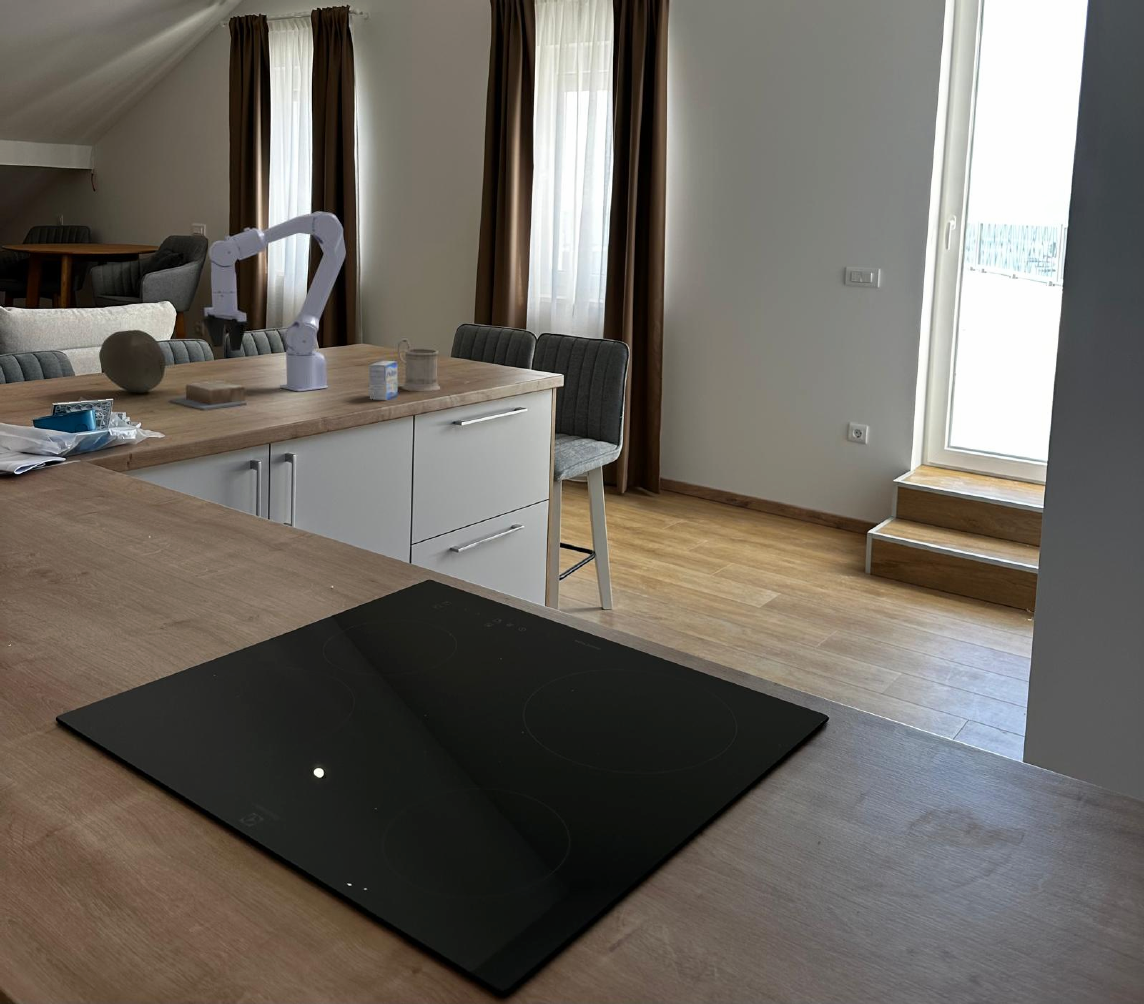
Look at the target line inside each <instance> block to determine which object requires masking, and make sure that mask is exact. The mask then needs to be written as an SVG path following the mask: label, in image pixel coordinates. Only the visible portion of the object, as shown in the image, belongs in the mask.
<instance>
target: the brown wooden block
mask: <svg viewBox="0 0 1144 1004" xmlns="http://www.w3.org/2000/svg"><path fill="white" fill-rule="evenodd" d="M185 397H186V399H189V400H193V401H197V402H200V403H204V404H208V405H216V404H224V403H232V402H239V401H242V402H246V400H245V399H246V397H245V386H243V385H241V384H236V383H232V382H228V381H223V380H221V379H220V380H211V381H203V382H202V381H201V382H195V383H194V382H193V383H186V385H185Z"/></svg>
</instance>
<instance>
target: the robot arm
mask: <svg viewBox="0 0 1144 1004" xmlns="http://www.w3.org/2000/svg"><path fill="white" fill-rule="evenodd" d="M296 234H303V235H310V236H311V235H312V236H313V238H315V240H316V241H317V242H318V244H319V247H320V248H321V250H322V253H323V255H322V258H321V259H320V263H319V265H318V268H317V270H316V272H315V275H314V277H313V279H312V283H311V284H310V287H309V289H308V292H307V294H306V297H305V300H304V302H303V305H302V307H301V309H300V312H299V313H298V314H297V315H296V317H295V319H294V321H293V323H292V324H291V325H290V326H288V328H286V330H285V332H284V340H285V343H286V345H287V346H288V348H287V349H286V351H285V357H286V358H285V359H286V361H285V363H286V384H283V385H282V384H281V385H279V388H281V389H286V390H291V391H295V392H305V391H306V392H307V391H311V390H312V391H313V390H319V389H328V388H329V385H327V363H326V359H325V356H324V355H323V354H322V353H321V352H318V351H316V349H315V348H316V346H317V341H318V340H317V333H318V331H319V327H320V326H319V322H320V319H321V317H322V315H323V312H324V309H325V307H326V304H327V301H328V299H329V297H330V294H331V292H332V290H333V287H334V285H335V282H336V280H337V277H338V275H339V273H340V270H341V269H342V268H341V267H342V266H343V263H344V260H345V258H346V253H347V251H346V246H345V240H344V239H345V238H344V228H343V226H342V223H341V222H340V221H339V219H338V217H337V215H335V214H333V213H332V212H325V211H321V210H319V211H315V212H313V213H306V214H302V215H299V216H295V217H293V218H291V219H288V220H286V221H283V222H281V223H279V224H276V225H274V226H271V227H269V228H266V229H264V230H260V229H257V228H255V227H253V228H250V227H246V228H244V229H243V232H240V233H238V234H234V235H233V236H230V235H227V236H226V235H225V237H224V239H225V240H217V241H213V243H212V244H211V245H210V247H209V250H208V252H207V253H208V255H207V256H208V257H209V260H210V261H211V265H210V268H211V272H210V280H211V283H210V284H211V301H212V306H211V307H204V316H205V317H202V323H203V324H204V325H205V327H206V329H207V331H208V333H209V337H210V340H211V344H212V347H214V348H218V347H223V342H224V330H225V328H226V331H227V334H228V339H229V345H230V350H231V351H232V352H235V351H240V350H241V348H242V344H243V338H244V335H245V333H246V330H247V329H248V327H249V321H248V320H247V313H246V312H242V311H240V310H238V295H237V294H238V293H237V291H238V289H237V273H236V267H235V265H236V264H235V263H236V262H237V260H239V261H241V260H244V259H246V258H247V259H248V258H249V257H251V256H254V255H257V254H260V253H262V252H265V250H266V249H267V248H266V247H267V246H268V244H271V243H273V242H276V241H279V240H283V239H285V238H287V237H291V236H294V235H296Z"/></svg>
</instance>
